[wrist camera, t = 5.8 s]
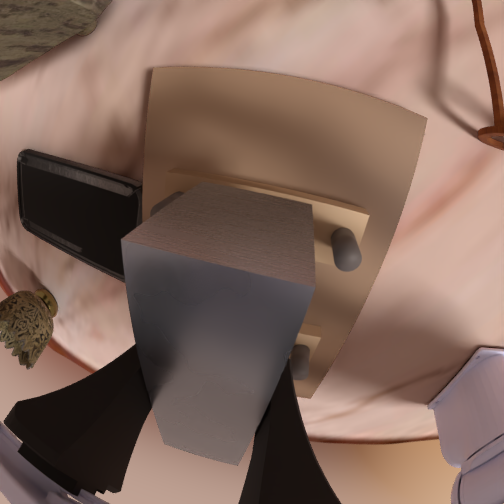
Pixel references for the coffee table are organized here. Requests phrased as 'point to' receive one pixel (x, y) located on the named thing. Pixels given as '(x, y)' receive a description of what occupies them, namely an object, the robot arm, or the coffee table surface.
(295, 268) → the metal bar
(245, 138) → the peg rack
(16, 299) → the cup
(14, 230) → the coffee table surface
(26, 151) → the phone
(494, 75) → the glasses
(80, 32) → the tabletop clock
